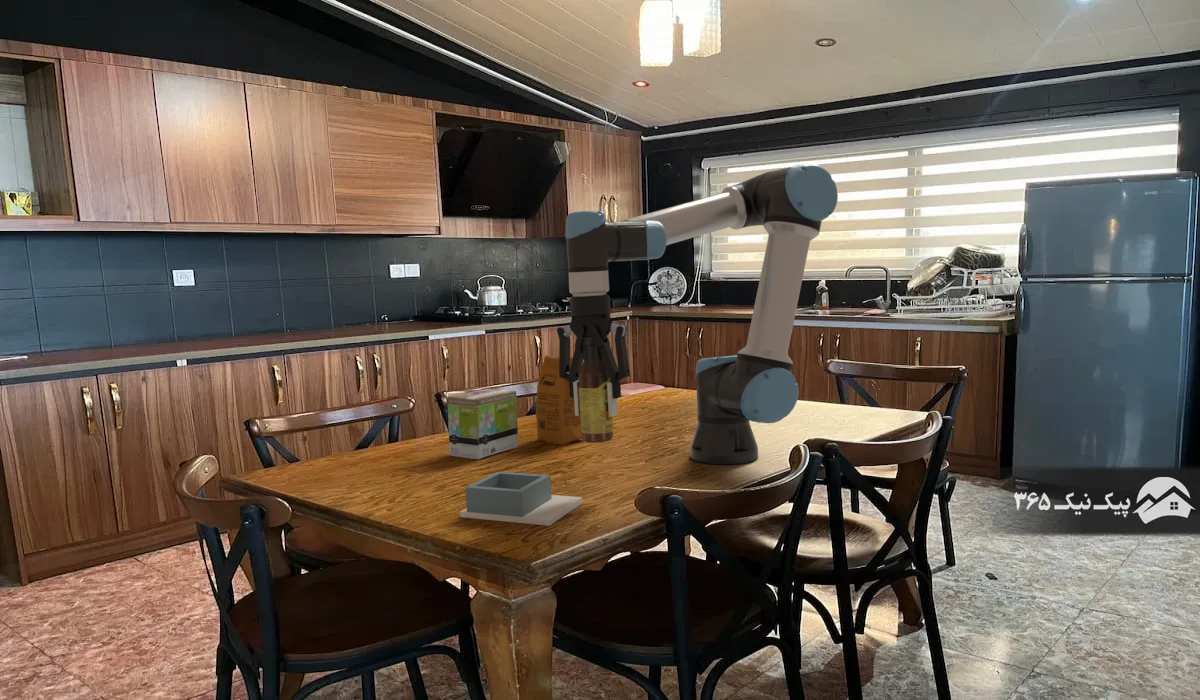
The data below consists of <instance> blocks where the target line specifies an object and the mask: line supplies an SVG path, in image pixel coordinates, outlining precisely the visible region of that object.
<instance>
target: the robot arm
mask: <svg viewBox="0 0 1200 700" xmlns="http://www.w3.org/2000/svg"><path fill="white" fill-rule="evenodd" d="M838 198H839V197H838V188H837V185H836V181H835V180H833V178H832V175H831V174H830V172H829V171H828V170H827V169H825V168H824V167H822V166H821V165H818V164H814V163H806V164H802V163H801V164H795V165H793V166H790V167H786V168H785V167H784V168H781V169H780V168H779V169H777V170H776V169H775V170H770V171H767V172H764V173H760V174H759V175H756V176H754V177H752V178H749V179H747V180H744V181H742V182H739V183H735V184H733V185H729V186H726V187H725V188H723V190H722V191H721V192H720V193H719V194H718V193H717V194H714V195H710V196H707V197H704V198H700V199H695V200H692V201H688V202H685V203H681V204H677V205H674V206H670V207H667V208H663V209H659V210H656V211H652V212H648V213H644V214H641V215H638V216H634V217H630V218H627V219H624V220H618V221H609V220H607V218H606V217H607V216H606V214H605V212H604V211H602V210H580V211H573V212H570V213H568V215H567V216H566V218H565V223H566V224H565V242H566V253H567V265H568V266H567V267H568V271H567V272H568V290H569V293H570V294H571V295H572V296H570V298H569V307H570V316H571V320H570V323H569V324H568V325H566V326H565V325H564V326H559V327H557V328H556V332H557V333H556V334H557V336H558V339H559V340H558V341H559V345H558V346H559V353H558V354H559V357H558V358H559V377H560V378H564V379H566V380H568V381H569V389H570V397H571V398H574V406H575V416H580V403H579V380H578V379H579V378H578V377H579V371H580V368H581V367H582V365H583V363H584V360H583V345H582V343H583V339H584V338H594V339H595V341H596V344H597V347H598V348H599V349H600V352H601V355H602V357H603V360H604V363H605V366H606V368H607V371H608V374H609V377H610V379H611V380H609V381H610V382H607V393H608V411H609V417H613V418H614V417H616V415H618V414H619V413H618V411H619V410H618V399H620V398H621V396H622V386H621V383H622V382H621V381H622V380H623V379H626V378H628V377H629V376H630V375H631V373H630V372H631V371H630V365H629V358H628V356H629V355H628V348H627V341H626V335H627V330H628V327H627V325H625V324H622V325H621V324H617V323H614V322H613V320H612V317H611V297H610V295H609V294H607V292H609V291H610V281H609V280H610V279H609V263H611V262H627V261H629V262H630V261H649V260H654V259H655V260H656V259H660V258H662V256H663V255H664V253H665V251H666V248H667V246H669V245H672V244H676V243H680V242H682V241H686V240H689V239H692V238H696V237H699V236H703V235H707V234H710V233H714V232H716V231H721V230H724V229H728V228H730V229H733V230H739V229H744V228H749V227H756V226H757V227H758V226H763V228H764V230H765V231H766V232H767V235H768V237H767V241H766V242H767V243H766V248H765V253H764V257H763V263H762V268H761V273H760V277H759V282H758V286H757V287H758V288H757V291H756V297H755V302H754V306H753V311H752V316H751V322H750V327H749V333H748V336H747V342H746V345H745V347H743V348H741V349H740V350H739V351H738V352H737V353H736V355H727V356H715V357H706V358H705V357H704V358H703V357H702V358H700V359H699V360H698V361H697V362H696V365H695V366H696V367H695V381H696V382H695V383H696V384H695V385H696V411H697V414H696V416H697V424H696V429H695V432H694V436H693V439H692V442H691V445H690V458H691V460H693V461H695V462H699V463H704V464H712V465H737V464H745V463H751V462H753V461H756V460H758V458H759V446H758V444H757V440H756V437H755V434H754V432H753V429H752V426H751V423H750V421H751V422H753V423H758V424H760V423H761V424H774V423H778V422H780V421H783V419H785V417H788V416H789V415H790V414H791V413H792V412H793V410H794V408H795V406H796V405H797V402H798V399H799V384H798V382H796V380H797V379H796V377H795V376H794V374H792V369H793V366H794V362H793V359H791V357H790V356H789V353H788V351H789V348H790V342H791V338H792V332H793V327H794V324H795V317H796V313H797V308H798V307H797V306H798V303H799V298H800V293H801V289H802V282H803V277H804V273H805V267H806V262H807V258H808V254H809V248H810V243H811V241H813V240H814V239H815V238H817V237H818V236H819V235H820V232H821V227H822V222H823V221H824V220H826V219H827V218H829V217H830V215H832V214H833V213H834V211H835V209H836V207H837V203H838ZM611 332H612V335H613V336H614V345H615V352H616V353H615V355H616V358H615V356H614V353H613V350H612V348H611V342H610V339H609V337H608V336H609V334H610V333H611ZM572 333H573V334H574V336H575V337H576V339H575V342H574V343H575V344H574V352H573V356H572V357H573V359H572V363H571V367H570V357H571V336H572ZM616 360H617V362H616Z"/></svg>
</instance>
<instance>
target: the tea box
mask: <svg viewBox="0 0 1200 700" xmlns="http://www.w3.org/2000/svg"><path fill="white" fill-rule="evenodd" d="M517 398H518V397H517V390H510V389H499V388H497V389H496V388H485V389H480V390H479V389H478V390H475V391H471V392H469V391H468V392H465V393H461V394H460V393H459V394H455V395H451V396H447V415H448V416H447V417H448V419H447V422H448V440H449V441H448V446H449V447H448V448H449V449H448V450H449V452H448V453H449V456H450V457H456V458H464V459H471V460H482V459H483V458H485V457H489V456H492V455H496V454H498V453H502V452H506V451H509V450H513V449H517V448H518V447H519V434H518V433H519V432H518V431H519V430H518V427H519V426H518V407H517V406H518V404H517V403H518V401H517V400H518V399H517Z"/></svg>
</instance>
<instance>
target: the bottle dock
mask: <svg viewBox="0 0 1200 700" xmlns="http://www.w3.org/2000/svg"><path fill="white" fill-rule="evenodd" d="M551 477H552V476H551V475H550V474H536V473H535V474H534V473H521V472H508V471H507V472H506V471H495V472H494V473H492V474H489V475H487V476H486V477H484V478H482V479H480V480H476V482H474V483H472V484H469V485H468V486H466V487H465V501H466V508H464V509H462V510H461V511H459V517H460V518H468V519H477V520H485V521H486V520H487V521H488V520H489V521H498V522H508V523H516V524H527V525H535V526H536V525H538V526H547V527H548V526H550V527H551V526H552V525H553V524H554V523H555V522H557V521H558V520H560V519H561V518H563V517H565V515H568V513H570V512H571V511H573V510H574V509H576V508H577V507H579V506H580V505H581V504H583V499H584V498H583V496H582V497H581V496H572V495H571V496H570V495H558V494H557V495H555V494H552V478H551Z"/></svg>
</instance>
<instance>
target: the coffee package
mask: <svg viewBox="0 0 1200 700" xmlns="http://www.w3.org/2000/svg"><path fill="white" fill-rule="evenodd" d="M572 359H573V356H570V367H571V363H572ZM578 380H579V379H578ZM537 382H538V383H537V386H536V389H537V390H536V404H535V417H536V431H537V441H540V442H546V443H547V444H550V445H567V444H569V443H571V442H575V441H579V440H582V432H581V420H580V416H575V406H574V398H571V397H570V389H569V381H568V380H566V379H564V378H560V377H559V357H554V356H551V355H549V354H546V355H544V359H543V363H542V366H541V368H540V374H539V377H538V381H537Z"/></svg>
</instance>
